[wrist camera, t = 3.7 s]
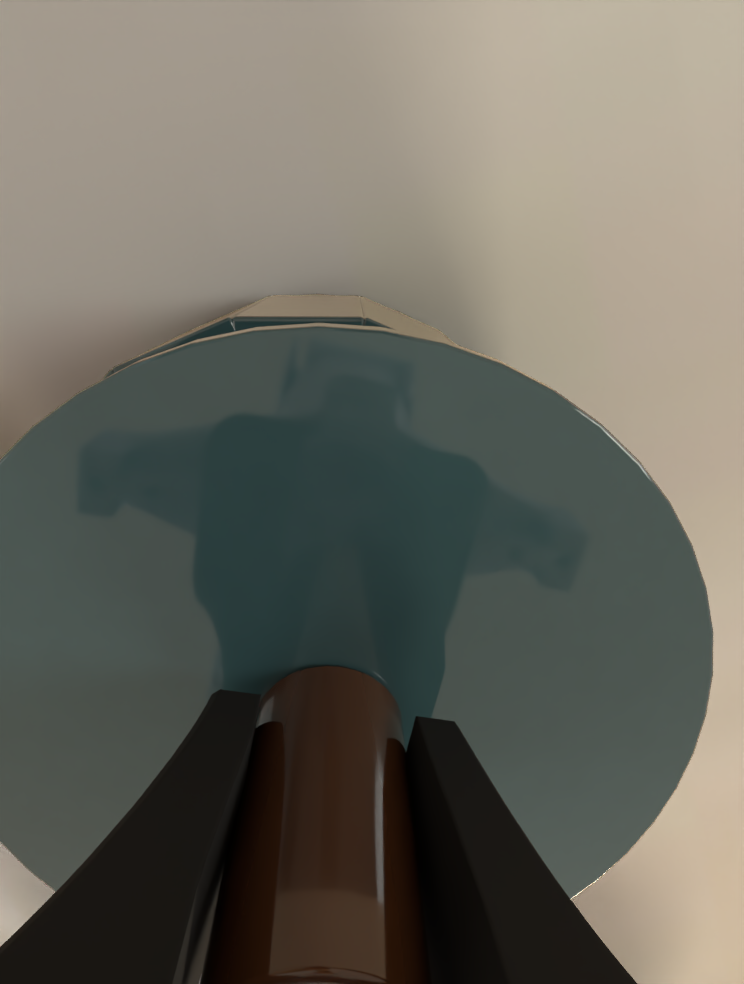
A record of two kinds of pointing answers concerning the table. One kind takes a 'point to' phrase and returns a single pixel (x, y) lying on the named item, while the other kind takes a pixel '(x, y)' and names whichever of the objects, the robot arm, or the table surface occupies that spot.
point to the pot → (298, 319)
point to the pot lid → (340, 624)
